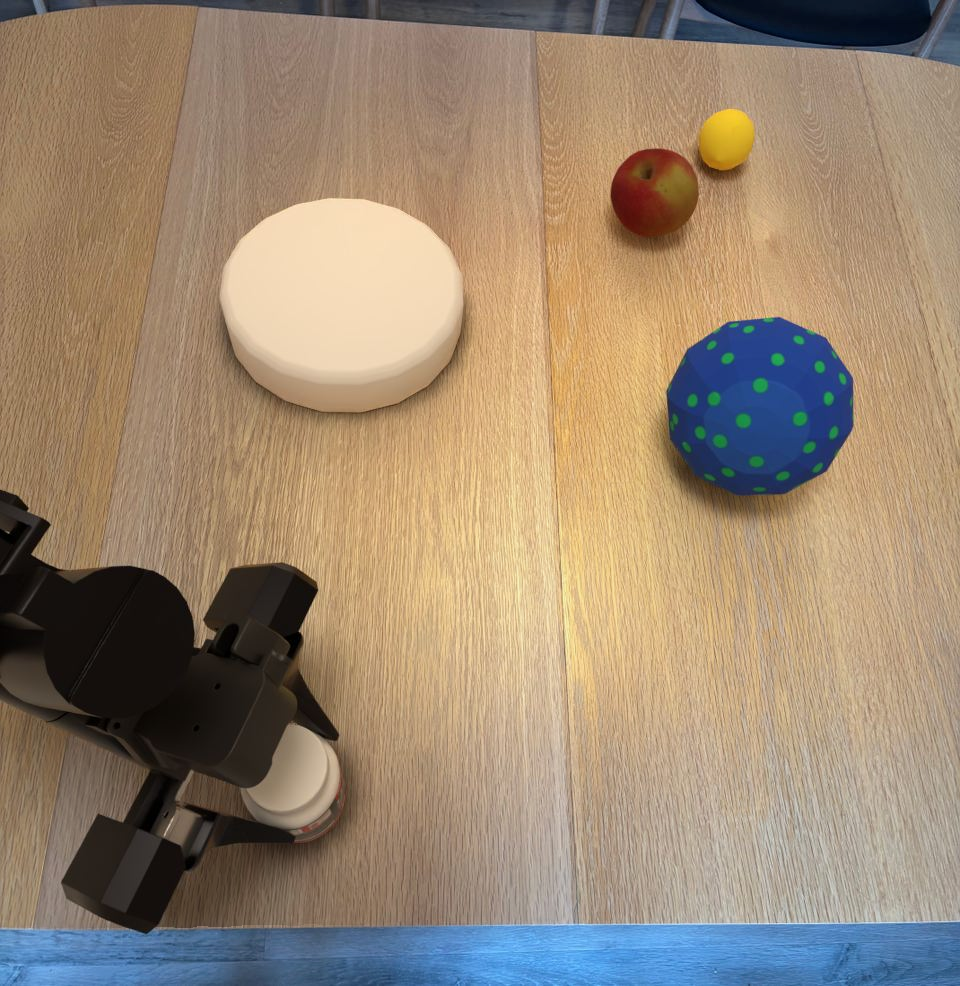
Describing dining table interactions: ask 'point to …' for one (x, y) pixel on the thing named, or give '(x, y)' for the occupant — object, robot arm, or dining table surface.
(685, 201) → the apple
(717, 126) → the lemon
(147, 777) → the robot arm
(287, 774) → the pill bottle
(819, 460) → the green-spotted blue ball
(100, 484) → the dining table surface
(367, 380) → the container
